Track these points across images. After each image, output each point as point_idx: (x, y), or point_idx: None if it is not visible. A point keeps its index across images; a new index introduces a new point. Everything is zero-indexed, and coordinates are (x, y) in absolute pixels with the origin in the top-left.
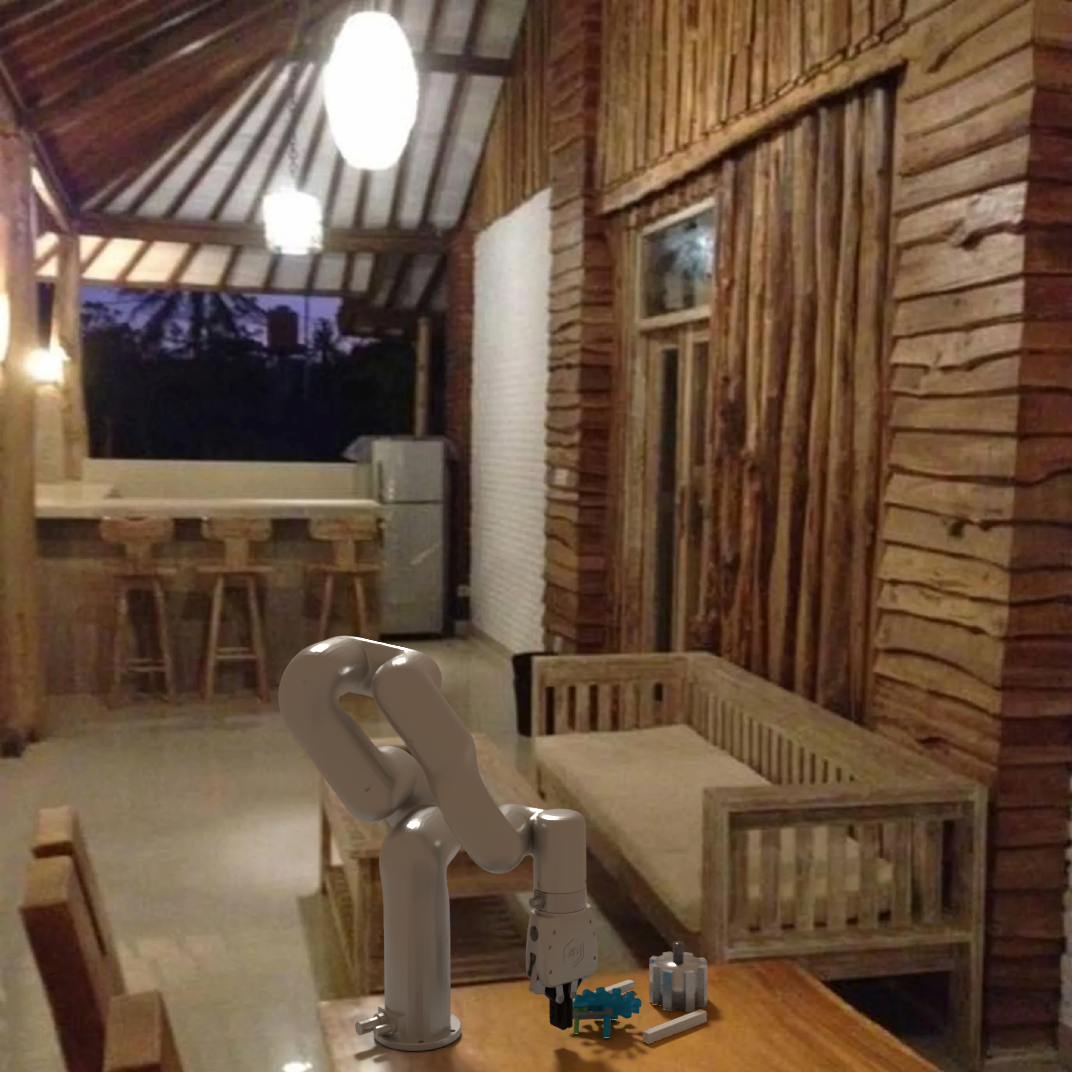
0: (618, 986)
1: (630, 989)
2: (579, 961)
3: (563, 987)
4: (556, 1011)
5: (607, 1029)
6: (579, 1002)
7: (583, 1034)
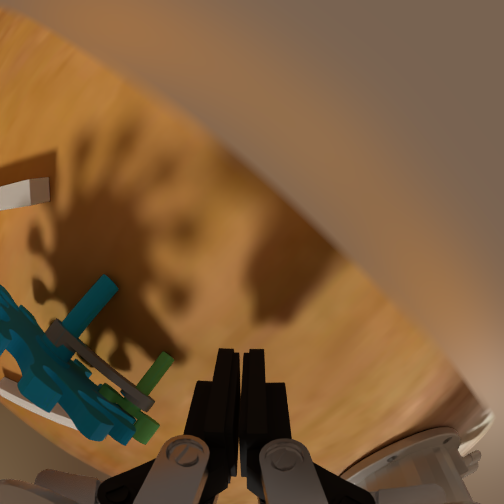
0: (17, 398)
1: (6, 382)
2: None
3: (203, 499)
4: (288, 417)
5: (95, 292)
6: (121, 418)
7: (150, 343)
